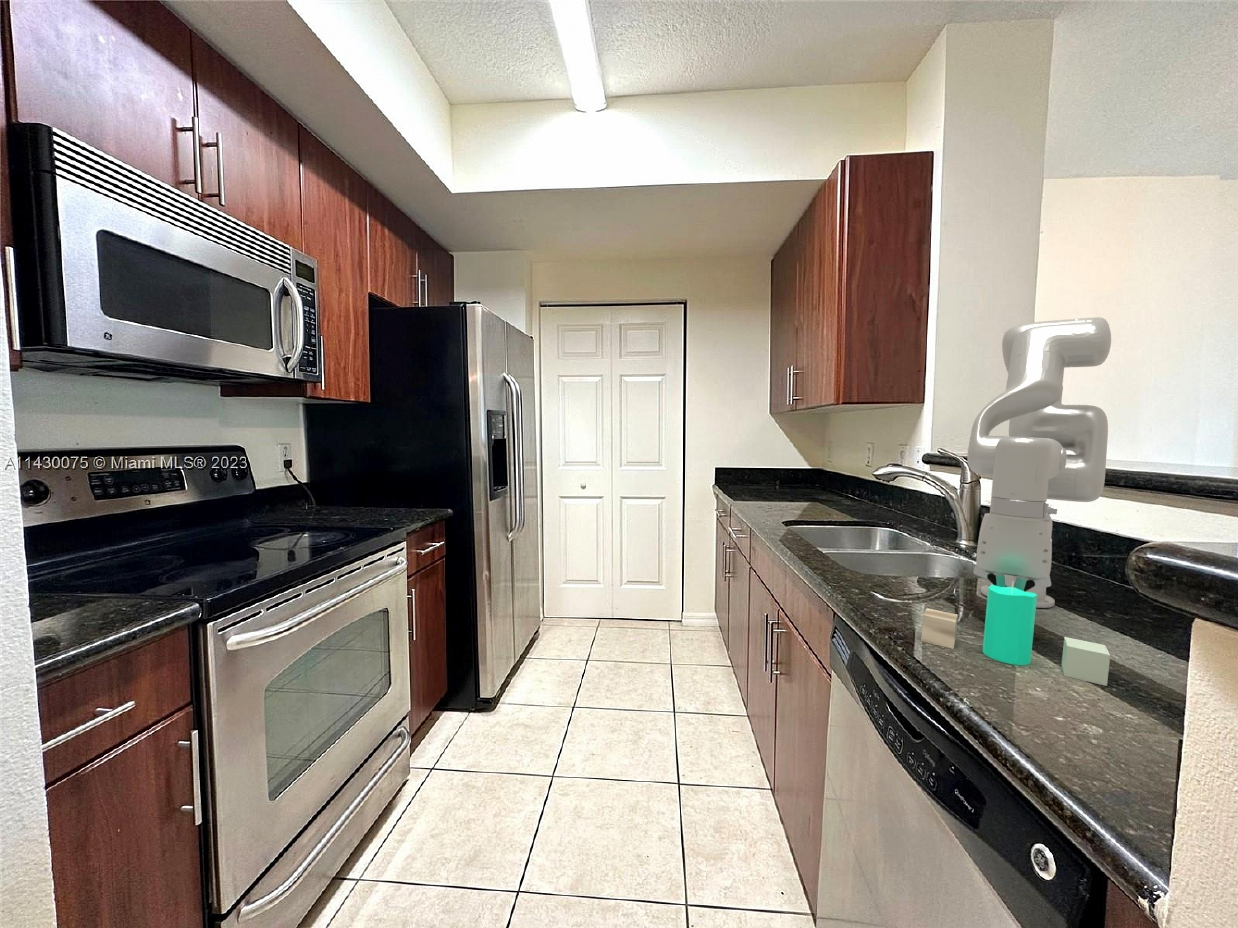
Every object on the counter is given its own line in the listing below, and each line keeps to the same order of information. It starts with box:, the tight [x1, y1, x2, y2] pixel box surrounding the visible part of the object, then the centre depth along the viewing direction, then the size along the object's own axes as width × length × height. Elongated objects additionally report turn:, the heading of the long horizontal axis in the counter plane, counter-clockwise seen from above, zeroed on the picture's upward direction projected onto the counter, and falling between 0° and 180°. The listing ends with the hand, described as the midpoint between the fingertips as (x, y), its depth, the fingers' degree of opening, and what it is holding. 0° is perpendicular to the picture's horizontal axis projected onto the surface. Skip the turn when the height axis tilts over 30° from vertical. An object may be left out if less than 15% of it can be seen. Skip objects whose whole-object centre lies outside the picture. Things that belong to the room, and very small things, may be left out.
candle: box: [982, 581, 1037, 666], centre depth 80 cm, size 6×6×12 cm
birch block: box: [920, 607, 959, 650], centre depth 85 cm, size 4×4×4 cm
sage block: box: [1061, 636, 1111, 687], centre depth 74 cm, size 4×4×4 cm
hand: (1007, 613), depth 89 cm, fingers closed
